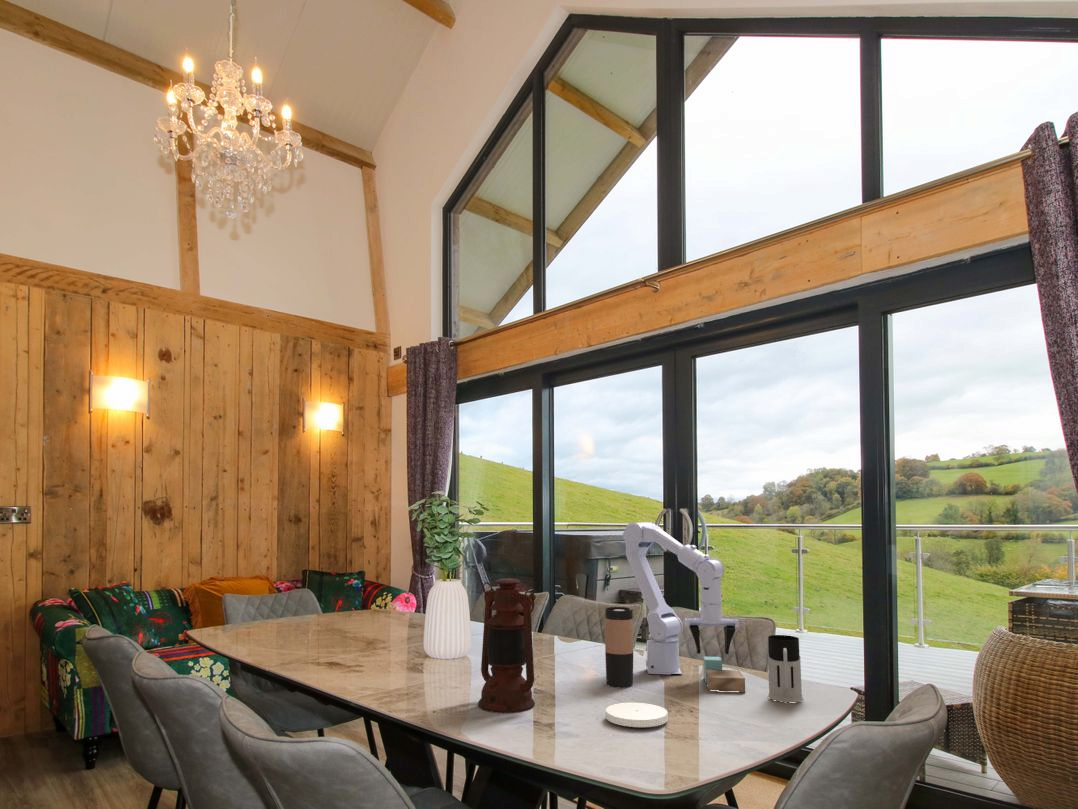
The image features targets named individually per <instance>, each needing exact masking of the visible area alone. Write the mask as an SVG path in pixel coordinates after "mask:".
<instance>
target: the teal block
mask: <svg viewBox="0 0 1078 809" xmlns="http://www.w3.org/2000/svg"><path fill="white" fill-rule="evenodd" d="M702 657H703V658H702V659H703V664H702V665H703V679H704V678H705V680H706V670H723V660H722V658H721V657H720V656H702ZM705 680H704V681H705Z"/></svg>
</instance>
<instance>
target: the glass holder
mask: <svg viewBox="0 0 1078 809" xmlns="http://www.w3.org/2000/svg"><path fill="white" fill-rule="evenodd" d="M767 636H768V637H767V642H768V643H767V646H768V654H767V661H768V662H767V666H768V691H769V692H768V695H767V698H768V697H769V698H770V699H772V700H776V701H782V702H801V701H803V700H804V701H805V699H804V697H803V693H802V691H803V690H802V667H801V656H800V639H799V637H797V636H792V635H787V634H772V635H767ZM770 699H769V700H770ZM772 700H771V701H772ZM804 701H803V702H804ZM801 703H802V702H801Z"/></svg>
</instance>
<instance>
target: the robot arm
mask: <svg viewBox="0 0 1078 809" xmlns="http://www.w3.org/2000/svg"><path fill="white" fill-rule="evenodd" d="M622 537H623V540H624V542H625V556H626V560H627V562H628V564H629V566H630V568H631V571H632V573H633V576H634V578H635V580H636V582H637V586H638V587H639V590H640V592H641V594H642V597H643V600H644V602H645V604H646V607H647V609H648V614H647V616H646V621H647V623H648V633H649V635H650V636H651V638H652V640H651V639H647V640H646V661H645V665H646V670H647V674H649V675H671V674H682V675H683V673H682V670H681V669H680V650H679V649H680V646H679V644H680V643H679V641H680V635H681V634H682V633H683V631H684V626H685V627H689V630H690V632H691V635H692V637H693V640H694V643H695V647H696V653H697V654H698V655H699V654H701V643H700V640H701V639H700V636H701V635H700V634H701V633H700V632H701V630H700V627H723V631H724V633H723V634H724V654H725V655H729V653H730V652H729V651H730V646H731V643H732V640H733V637H734V634H735V632H736V628H740V624H739V623H740V622H739V619H738V618H726V617H725V618H723V607H722V606H723V605H722V604H723V602H722V599H723V598H722V577H723V576H724V575H725V567H724V564H723V563H722V562H721V560H719V559H717V558H710V555H709V554H708V553H707V554H704V553H703V552H701V551H700V550H698V549H697V548H698V547H697V546H696V545H695V544H685V545H683V544H682V543H681V542H679V541H678V540H677V539H675V538H674V537H673V536H671V535H670V534H669V533H667V532H666V531H664V530H663V529H662V528H661V526H659V525H657V524H655V523H653V522H651V521H645V522H635V521H634V522H630V523H628V524H626V526H625V528H624V531H623V533H622ZM653 543H655V544H658V545H660V546H661V547H663V548H664V549H666V550H668V551H669V552H671V553H672V554H675V555H676V556H677V560H678V562H679V563H681V565H683V566H685V567H687V568H688V569H689V570H691V571H692V572H694V573H695V574H696V576H697V578H698V580H699V585H700V617H693V618H691V617H689V618H684V622H685V624H684V625H683V622H682V620H681V619H680V617H678V615H677V614H676V612H675V610H674V609H673V608H672V607H671V606H669V605H668V604H667V602H666V600H665V598H664V596H663V594H662V591H661V589H660V586H659V584H658V582H657V580H656V578H655V574H654V573H653V571H652V569H651V565H650V563H649V561H648V558H647V556H646V555H647V552H648V550H649V549H650V547H651V546H652V544H653Z"/></svg>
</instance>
